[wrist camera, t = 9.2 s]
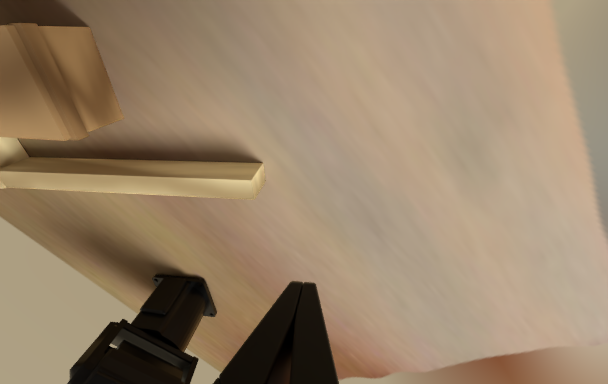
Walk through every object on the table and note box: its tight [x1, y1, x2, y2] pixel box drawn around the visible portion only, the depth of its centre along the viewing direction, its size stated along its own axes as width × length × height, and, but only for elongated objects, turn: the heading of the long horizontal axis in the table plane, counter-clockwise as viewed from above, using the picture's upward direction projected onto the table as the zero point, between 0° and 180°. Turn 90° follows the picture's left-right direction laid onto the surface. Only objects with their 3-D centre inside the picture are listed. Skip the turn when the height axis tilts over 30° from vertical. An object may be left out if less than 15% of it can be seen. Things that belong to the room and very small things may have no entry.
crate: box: [0, 23, 124, 141], centre depth 17 cm, size 6×7×5 cm
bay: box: [0, 137, 266, 200], centre depth 16 cm, size 16×25×7 cm, turn 93°
